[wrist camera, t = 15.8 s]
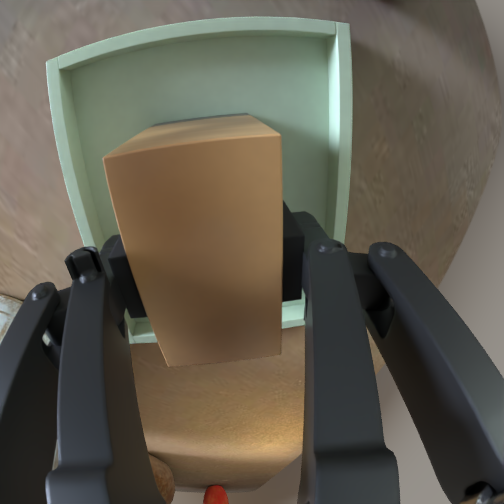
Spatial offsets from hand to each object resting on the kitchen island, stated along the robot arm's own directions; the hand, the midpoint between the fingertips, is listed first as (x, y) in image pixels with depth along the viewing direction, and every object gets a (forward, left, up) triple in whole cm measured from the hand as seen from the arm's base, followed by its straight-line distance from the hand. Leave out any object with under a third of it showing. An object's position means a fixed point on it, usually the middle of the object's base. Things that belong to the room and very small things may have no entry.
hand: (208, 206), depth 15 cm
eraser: (0, 0, -1) cm, 1 cm away
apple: (+11, +71, -2) cm, 72 cm away
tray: (0, 0, -2) cm, 2 cm away
